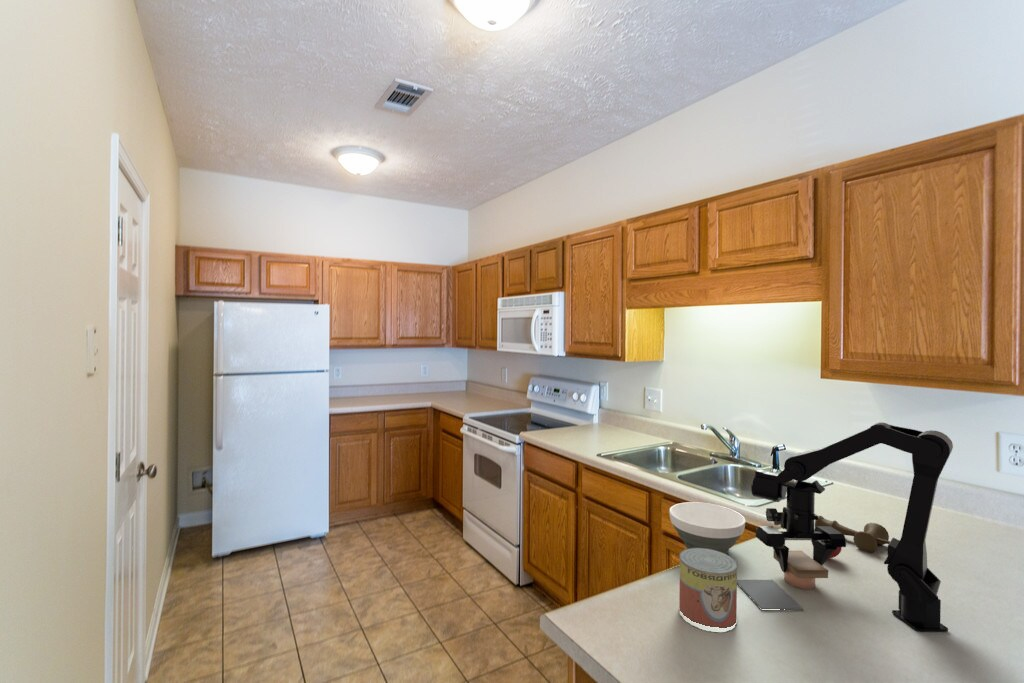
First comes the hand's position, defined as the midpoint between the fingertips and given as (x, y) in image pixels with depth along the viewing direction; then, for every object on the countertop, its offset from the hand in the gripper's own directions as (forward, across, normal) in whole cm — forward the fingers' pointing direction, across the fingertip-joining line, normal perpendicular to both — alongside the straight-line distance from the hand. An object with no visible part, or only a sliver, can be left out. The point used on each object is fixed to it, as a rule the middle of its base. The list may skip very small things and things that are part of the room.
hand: (799, 571), depth 114 cm
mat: (+2, +11, +6) cm, 13 cm away
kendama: (+3, -30, -22) cm, 37 cm away
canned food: (+3, +28, +14) cm, 31 cm away
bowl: (+3, +15, -18) cm, 24 cm away
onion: (+3, -15, -12) cm, 19 cm away
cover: (-1, 0, 0) cm, 1 cm away
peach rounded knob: (+2, 0, 0) cm, 2 cm away
